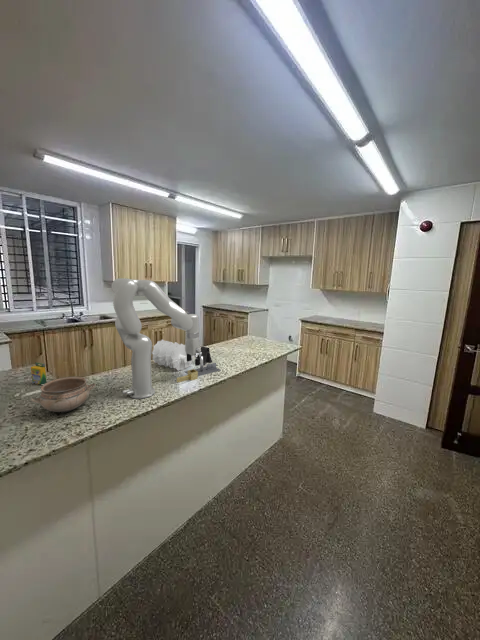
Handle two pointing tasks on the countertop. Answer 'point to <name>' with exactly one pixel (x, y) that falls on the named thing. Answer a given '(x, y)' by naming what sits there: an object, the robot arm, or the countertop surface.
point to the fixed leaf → (209, 367)
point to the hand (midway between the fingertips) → (193, 363)
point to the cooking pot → (64, 394)
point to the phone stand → (206, 355)
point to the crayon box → (38, 374)
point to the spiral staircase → (170, 355)
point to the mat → (205, 371)
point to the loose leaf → (189, 376)
